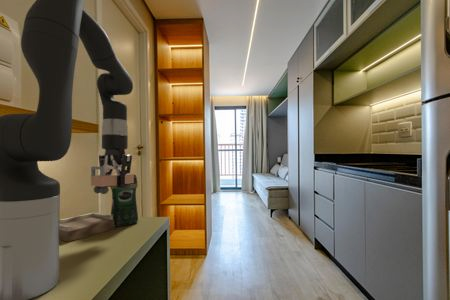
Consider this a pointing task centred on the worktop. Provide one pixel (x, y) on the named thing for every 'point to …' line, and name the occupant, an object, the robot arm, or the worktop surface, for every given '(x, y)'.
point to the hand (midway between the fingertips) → (114, 186)
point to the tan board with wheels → (108, 181)
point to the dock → (84, 226)
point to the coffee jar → (124, 205)
